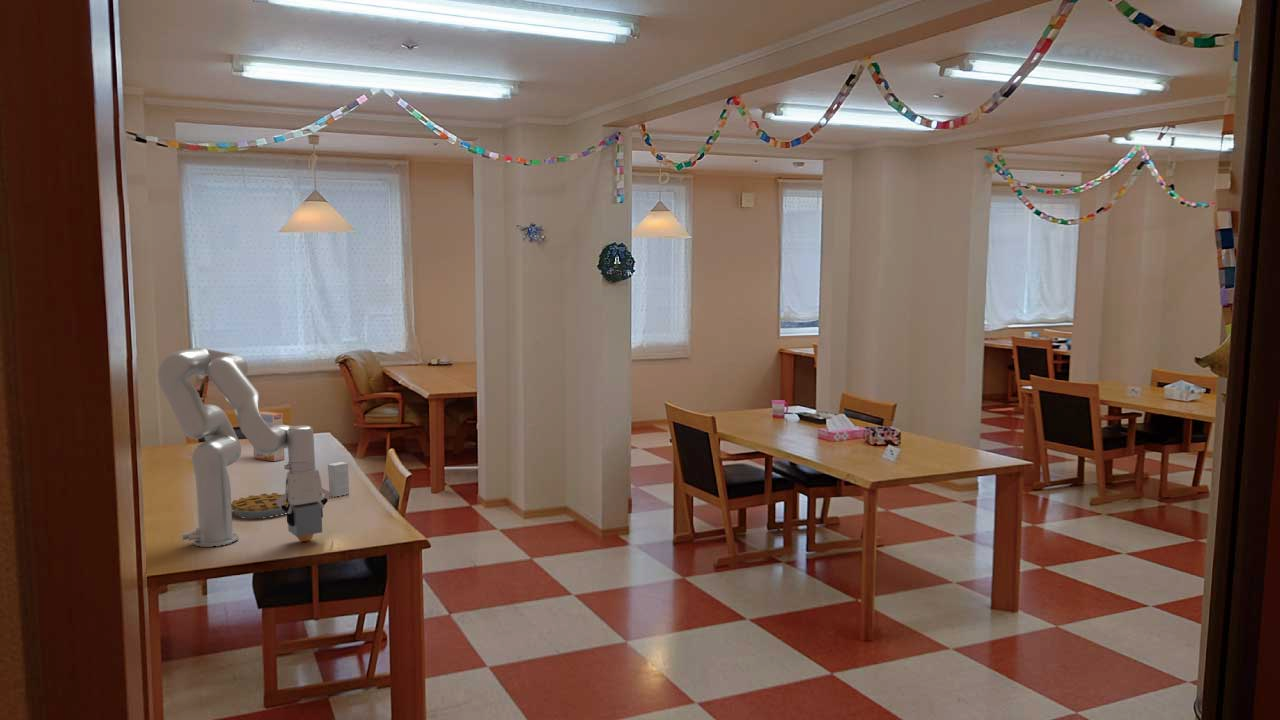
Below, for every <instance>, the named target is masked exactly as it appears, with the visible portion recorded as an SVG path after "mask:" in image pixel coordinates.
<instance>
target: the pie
mask: <svg viewBox="0 0 1280 720" xmlns="http://www.w3.org/2000/svg"><path fill="white" fill-rule="evenodd" d="M283 494H284V493H282V494H280V493H275V492H272V493H271V494H267V493H261V494H260V495H249V496H248V497H240V498H239V499H238V500H237V499H235V500H232V501H231V507H232V512H234V514H235V516H236V515H237V516H240V517H245V518H263V517H270V516H276V515H281V514H285V513H286V512H285V511H284V510H282V509H281V508H280V507H279V506H278V505H277V503H276V500H278V499H279V498H280V497H281V496H282V495H283ZM283 504H284V505H285V506H286V507H287V502H286V499H285V500H284V501H283ZM285 515H286V514H285ZM237 516H236V517H237ZM281 516H282V515H281ZM240 517H239V518H240ZM245 518H244V519H245ZM263 519H264V518H263Z"/></svg>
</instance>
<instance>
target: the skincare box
mask: <svg viewBox="0 0 1280 720" xmlns="http://www.w3.org/2000/svg"><path fill="white" fill-rule="evenodd" d="M327 471H328V473H327V476H328V490H329V491H328V492H330V493H331V496H330V497H332V496H335V497H334V498H338V497H337V496H340V497H342V496H341V495H344V496H346V495H345V494H348V495H350V482H349V481H350V478H349V477H350V476H349V463H348V462H344V461H338V462H334V463H329V464H327Z"/></svg>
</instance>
